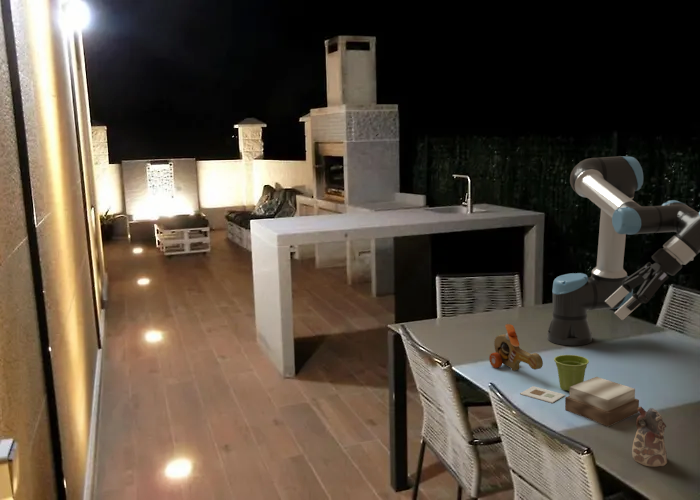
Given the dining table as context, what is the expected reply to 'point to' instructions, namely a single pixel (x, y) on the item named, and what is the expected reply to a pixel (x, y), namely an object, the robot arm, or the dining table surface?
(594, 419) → the stacked square slabs
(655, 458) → the figurine
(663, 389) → the dining table surface
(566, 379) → the plant pot
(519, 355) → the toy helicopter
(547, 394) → the page
